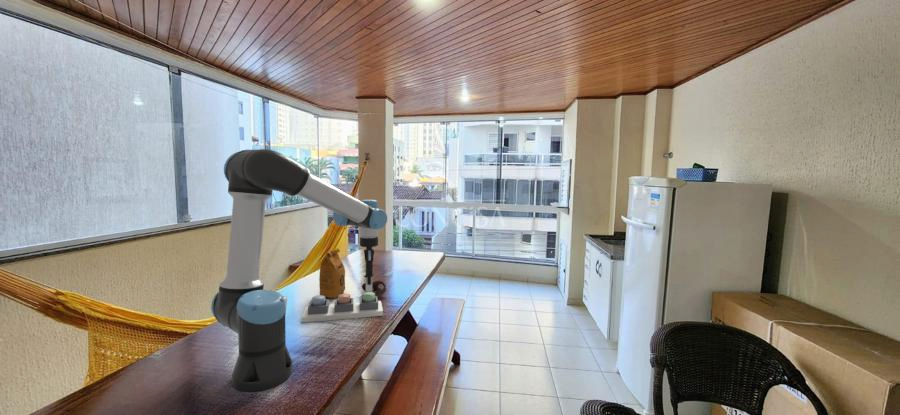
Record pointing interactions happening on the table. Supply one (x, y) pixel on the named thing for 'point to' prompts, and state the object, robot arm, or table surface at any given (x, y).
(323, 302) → the slate button
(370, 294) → the sage button
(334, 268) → the coffee package
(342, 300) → the terracotta button
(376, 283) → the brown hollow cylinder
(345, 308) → the button panel
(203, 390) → the table surface
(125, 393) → the table surface
